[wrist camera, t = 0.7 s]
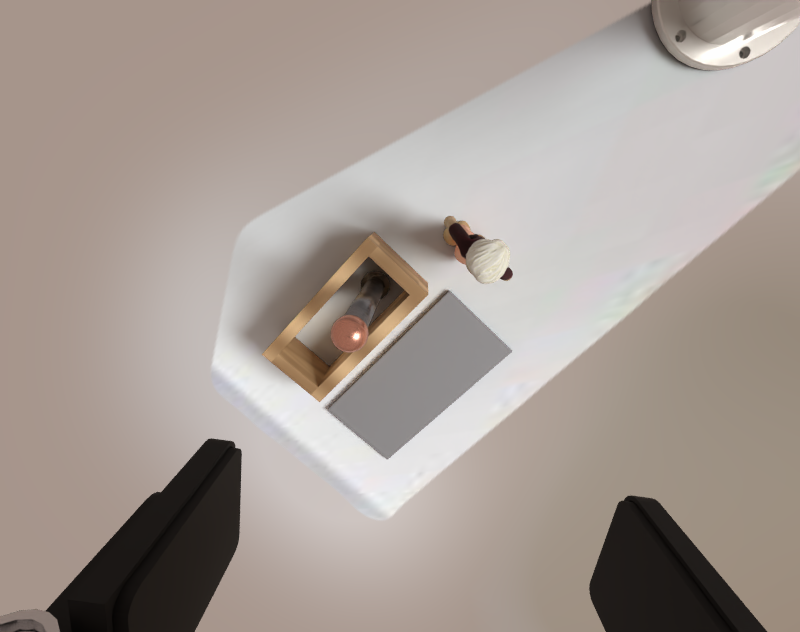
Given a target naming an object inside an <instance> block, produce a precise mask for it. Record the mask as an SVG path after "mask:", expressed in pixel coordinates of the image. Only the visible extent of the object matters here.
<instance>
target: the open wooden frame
mask: <svg viewBox="0 0 800 632" xmlns="http://www.w3.org/2000/svg"><path fill="white" fill-rule="evenodd" d="M368 256H369V257H370V258H371V259H372V260H373V261H374V262H375V263H376V264H377V265H379V266H380V267H381V268H382V269H383V270H384V271H385V272H386V273H387V274H388V275H389V276H390V277H391V278H392V279H393V280H395V281H396V282H397V283H398V284H399V285H400V286H401V287H402V288H403V289H404V291H403V292H402V293H401V294H400V295H399V296H398V297H397V298H396V299H395V300H394V302H393V303H392V304H391V305H390V306H389V307H388V308H387V309H386V310H385V311H384V312H383V313H382V314H381V315H380V316H379V317H378V318H377V319H376V320H375V321H374V322H373V323H372V324H371V325H370V326H369V327H368V332H369V335H368V340H367V342H366V344H365V345H364V346H363V347H362V348H361V349H360V350H358V351H355V352H343V353H342V354H341V355H340V356H339V357H338V358H337V359H336V360H335V361H334V362H333V363H332V365H331V366H330V367H329V366H328V365H327V364H326V363H325V362H323V361H322V360H321V359H320V358H319V357H318V356H316V355H315V354H314V353H313V352H312V351H311V350H309V349H308V348H307V347H306V346H305V345H304V344H302V343H301V342H300V341H299V340H298V339H296V338H295V336H296V335H297V334H298V333H299V331H300V330H301V329H302V328H303V327H304V326H305V325H306V324H307V323H308V322H309V321H310V319H311V318H312V317H313V316H314V315H315V314H316V313H317V312H318V311H319V310H320V309H321V308H322V306H323V305H324V304H325V303H326V302H327V301H328V300H329V299H330V298H331V297H332V296H333V294H334V293H335V292H336V291H337V290H338V289H339V288H340V287H341V286H342V285H343V284H344V283H345V281H346V280H347V279H348V278H349V277H350V276H351V275H352V274H353V273H354V272H355V271H356V269H357V268H358V267H359V266H360V265H361V264H362V263H363V262H364V261H365V260H366V259H367V257H368ZM427 295H428V283H427V282H426V281H425V280H424V279H423V278H422V277H421V276H420V275H419V274H418V273H417V272H416V271H415V270H414V269H413V268H412V267H411V266H410V265H409V264H407V263H406V262H405V261H404V260H403V259H402V258H401V257H400V256H399V255H398V254H397V253H396V252H395V251H394V250H393V249H392V248H391V247H390V246H389V245H388V244H386V243H385V242H384V241H383V240H382V239H381V238H380V237H379V236H378V235H377V234H376V233H375V232H374V233H373V234H371V235H370V236H369V237H367V239H366V240H365V241H364V242H363V243H362V244H361V245H360V246H359V247H358V249H357V250H356V251H355V252H354V253H353V254H352V255H351V256H350V257H349V258H348V260H347V261H346V262H345V263H344V264H343V265H342V266H341V267H340V268H339V270H338V271H337V272H336V273H335V274H334V275H333V276H332V277H331V278H330V280H329V281H328V282H327V283H326V284H325V285H324V286H323V287H322V288H321V290H320V291H319V292H318V293H317V294H316V295H315V296H314V297H313V298H312V299H311V301H310V302H309V303H308V304H307V305H306V306H305V307H304V308H303V309H302V311H301V312H300V313H299V314H298V315H297V316H296V317H295V318H294V319H293V321H292V322H291V323H290V324H289V325H288V326H287V327H286V328H285V329H284V330H283V332H282V333H281V334H280V335H279V336H278V337H277V338H276V339H275V340H274V342H273V343H272V344H271V345H270V346H269V347H268V348H267V349H266V350H265V352H264V353H263V354H262V355H263V356H264V357H266V358H267V359H268V360H269V361H270V362H272V363H273V364H274V365H275V366H277V367H278V368H279V369H280V370H281V371H283V372H284V373H285V374H286V375H287V376H289V377H290V378H291V379H292V380H293V381H295V382H296V383H297V384H298V385H299V386H301V387H302V388H303V389H304V390H306V391H307V392H308V393H309V394H310V395H312V396H313V397H314V398H315V399H316V400H318V401H319V402H320V401H321V400H322V399H323V398H324V397H325V396H326V395H327V394H328V393H329V392H330V391H331V390H332V389H333V388H334V387H335V386H336V385H337V384H338V383H339V382H340V381H341V380H342V379H343V378H344V377H345V376H346V375H347V374H348V373H350V372H351V371H352V370H353V369H354V368H355V367H356V366H357V365H358V364H359V363H360V362H361V361H362V360H363V359H364V358H365V357H366V356H367V355H368V354H369V353H370V352H371V351H372V350H373V349H374V348H375V347H376V346H377V345H378V344H379V343H380V342H381V341H382V340H383V339H384V338H385V337H386V336H387V335H388V334H389V333H390V332H391V331H392V330H393V329H394V328H395V327H396V326H397V325H398V324H399V323H400V322H401V321H402V320H403V319H404V318H405V317H406V316H407V315H408V314H409V313H410V312H411V311H412V310H413V309H414V308H415V307H416V306H417V305H418V304H419V303H420V302H421V301H422V300H423V299H424V298H425V297H426V296H427Z"/></svg>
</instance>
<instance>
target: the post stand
mask: <svg viewBox="0 0 800 632" xmlns="http://www.w3.org/2000/svg"><path fill="white" fill-rule="evenodd" d="M389 288H390V283H389V279H388V278H387V276H386V275H385V274H383V273H382V272H379V271H372V272H369V273H367V274H366V275H365V276H364V278H363V279H362V281H361V291H360V292H359V294H358V295H357V297H356V298H355V300H354V302H353V303H352V305H351V306H350V308H349V309H348V311H347V312H346V314H345V315H344V316H342V317H340V318H339V319H337V320H336V321H335V323H334V324H333V326H332V329H331V339H332V342H333V343H334V345H335V346H336V347H337V348H338V349H339V350H341V351H344V352H355V351H358V350H360V349H361V348H362V347H363V346H364V345H365V344H366V342H367V340H368V335H369V332H368V326H369V324H370V322H371V319H372V317H373V315H374V312H375V310H376V307H377V305H378V303H379V300H380V299H382V298H384V297H385V296H386V295H387V293H388V291H389Z"/></svg>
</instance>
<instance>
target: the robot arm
mask: <svg viewBox="0 0 800 632" xmlns="http://www.w3.org/2000/svg"><path fill="white" fill-rule="evenodd" d="M652 15H653V20H654V25H655V28H656V31H657V33H658V35H659V38H660V40H661V41H662V43H663V44H664V46H665V47H666V49H667V50H668V51H669V52H670V53H671V54H672V55H673V56H674V57H675V58H677V59H678V60H679V61H681V62H683V63H685V64H687V65H688V66H690V67H694V68H698V69H702V70H723V69H729V68H734V67H736V66H739V65H742V64H745V63H747V62H750V61H752V60H754V59H756V58H758V57H760V56H762V55H764V54H766V53H767V52H769V51H770V50H772V49H773V48H775V47H776V46H777V45H779V44H780V43H781V42H782V41H783V40H784V39H785V38H786V37H787V36H789V35H790V34H791V33H792V32H793V31H794V29H795V28H796V27H797V26H798V24H799V23H800V0H652ZM675 37H676V39H677V41H676V39H675ZM241 456H242V454H241V449H238V448H235V444H234V442H232V441H225V440H218V439H208V440H207V441H206V442H205V443H204V444H203V445H202V446H201V447H200V449H199V450H198V451H197V452H196V453H195V454H194V455H193V457H192V458H191V459H190V460H189V461H188V462H187V463H186V465H185V466H184V467H183V468H182V469H181V470H180V471H179V473H178V474H177V475H176V476H175V477H174V478H173V479H172V481H171V482H170V483H169V484H168V485H167V486H166V487H165V488H164V490H163V491H162V492H156V493H154V494H152V495H151V496H150V497H149V498H147V499H146V501H145V502H144V503H143V504H142V505H141V506H140V507H139V508H138V509H137V510H136V511H135V513H134V514H133V515H132V516H131V517H130V518H129V519H128V520H127V521H126V523H125V524H124V525H123V526H122V527H121V528H120V529H119V531H117V533H116V534H115V535H114V536H113V537H112V538H111V539H110V540H109V541H108V542H107V544H106V545H105V546H104V547H103V548H102V549H101V550H100V551H99V552H98V553H97V555H96V556H95V557H94V558H93V559H92V560H91V561H90V562H89V563H88V565H87V566H86V567H85V568H84V569H83V570H82V571H81V572H80V574H79V575H78V576H77V577H76V578H75V579H74V580H73V581H72V582H71V583H70V584H69V586H68V587H67V588H66V589H65V590H64V591H63V592H62V593H61V594H60V595H59V597H58V598H57V599H56V600H55V601H54V602H53V603H52V604H51V606H50V607H49V608H48V609H47V610H46V611H42V610H38V609H33V610H21V611H17V612H13V613H10V614H7V615H3V616H0V632H195V630H196V628H197V626H198V624H199V622H200V620H201V618H202V616H203V614H204V612H205V610H206V608H207V606H208V604H209V602H210V600H211V598H212V596H213V595H214V592H215V591H216V588H217V587H218V585H219V583H220V581H221V579H222V577H223V575H224V573H225V571H226V569H227V567H228V565H229V563H230V561H231V559H232V557H233V555H234V553H235V551H236V548H237V545H238V541H239V526H240V525H239V524H240V492H241V491H240V490H241V489H240V488H241ZM589 589H590V596H591V600H592V602H593V605H594V607H595V609H596V611H597V613H598V616H599V618H600V620H601V622H602V624H603V626H604V629H605V631H606V632H767V631H766V630H765V629H764V628H763V626H762V625H761V624H760V623H759V622H758V620H757V619H756V618H755V617H754V615H753V614H752V613H751V612H750V611H749V609H748V608H747V607H746V606H745V605H744V603H743V602H742V601H741V600H740V599H739V597H738V596H737V595H736V594H735V593H734V591H733V590H732V589H731V588H730V587H729V586H728V584H727V583H726V582H725V581H724V580H723V579H722V577H721V576H720V575H719V574H718V572H717V571H716V570H715V569H714V568H713V566H712V565H711V564H710V563H709V562H708V561H707V559H706V558H705V557H704V556H703V554H702V553H701V552H700V551H699V550H698V549H697V547H696V546H695V545H694V544H693V543H692V541H691V540H690V539H689V538H688V537H687V535H686V534H685V533H684V532H683V531H682V529H681V528H680V527H679V526H678V525H677V523H676V522H675V521H674V520H673V519H672V517H671V516H670V515H669V514H668V513H667V511H666V510H665V509H664V508H663V507H662V506H661V504H660V503H659V502H658V501H656V500H655V499H652V498H645V497H637V496H627V497H626V498H625V500H624V501H621V502H619V503H618V505H617V508H616V511H615V514H614V517H613V519H612V522H611V525H610V528H609V531H608V533H607V536H606V539H605V542H604V545H603V548H602V550H601V553H600V556H599V559H598V562H597V565H596V567H595V570H594V573H593V576H592V579H591V581H590V588H589Z"/></svg>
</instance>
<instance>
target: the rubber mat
mask: <svg viewBox="0 0 800 632" xmlns="http://www.w3.org/2000/svg"><path fill="white" fill-rule="evenodd" d="M511 352H512V350H511V349H510V348H509V347H508V346H507V345H506V344H505V343H504V342H503V341H501V340H500V339H499V338H498V337H497V336H496V335H495V334H494V333H493V332H492V331H491V330H490V329H489V328H488V327H487V326H486V325H485V324H484V323H483V322H482V321H481V320H480V319H479V318H478V317H477V316H475V315H474V314H473V313H472V312H471V311H470V310H469V309H468V308H467V307H466V306H465V305H464V304H463V303H462V302H461V301H460V300H459V299H458V298H457V297H456V296H455V295H454V294H453V293H452V292H450V291H448V292H447V293H446V294H445V295H444V296H443V297H442V298H441V299H440V300H439V301H438V302H437V303H436V304H435V305H434V306H433V307H432V308H431V309H430V310H429V311H428V312H427V313H426V314H425V315H424V316H423V317H421V318H420V319H419V320H418V321H417V322H416V323H415V324H414V325H413V326H412V327H411V328H410V329H409V330H408V331H407V332H406V333H405V334H404V335H403V336H402V337H401V338H400V339H399V340H398V341H397V342H396V343H395V344H394V345H393V346H392V347H391V348H390V349H389V350H388V351H387V352H386V353H385V354H383V355H382V356H381V357H380V358H379V359H378V360H377V361H376V362H375V363H374V364H373V365H372V366H371V367H370V368H369V369H368V370H367V371H366V372H365V373H364V374H363V375H362V376H361V377H360V378H359V379H358V380H357V381H356V382H355V383H354V384H353V385H352V386H351V387H350V388H349V389H348V390H347V391H345V392H344V393H343V394H342V395H341V396H340V397H339V398H338V399H337V400H336V401H335V402H334V403H333V404H332V405H331V406H330V407H329V408H328V411H329V412H330V413H332V414H333V415H334V416H335V417H336V418H338V419H339V420H340V421H341V422H342V423H344V424H345V425H346V426H347V427H348V428H350V429H351V430H352V431H353V432H355V433H356V434H357V435H358V436H359V437H361V438H362V439H363V440H364V441H365V442H367V443H368V444H369V445H370V446H371V447H373V448H374V449H375V450H376V451H377V452H379V453H380V454H381V455H382V456H384V457H385V458H386V459H389V458H390V457H391V456H392V455H393V454H394V453H396V452H397V451H398V450H399V449H400V448H401V447H402V446H404V445H405V444H406V443H407V442H408V441H409V440H411V439H412V438H413V437H414V436H415V435H416V434H418V433H419V432H420V431H421V430H422V429H423V428H424V427H426V426H427V425H428V424H429V423H430V422H431V421H433V420H434V419H435V418H436V417H437V416H438V415H439V414H441V413H442V412H443V411H444V410H445V409H446V408H448V407H449V406H450V405H451V404H452V403H453V402H454V401H456V400H457V399H458V398H459V397H460V396H461V395H463V394H464V393H465V392H466V391H467V390H468V389H469V388H471V387H472V386H473V385H474V384H475V383H476V382H478V381H479V380H480V379H481V378H482V377H483V376H484V375H486V374H487V373H488V372H489V371H490V370H491V369H493V368H494V367H495V366H496V365H497V364H498V363H499V362H501V361H502V360H503V359H504V358H505V357H506V356H508V355H509V354H510V353H511Z"/></svg>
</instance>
